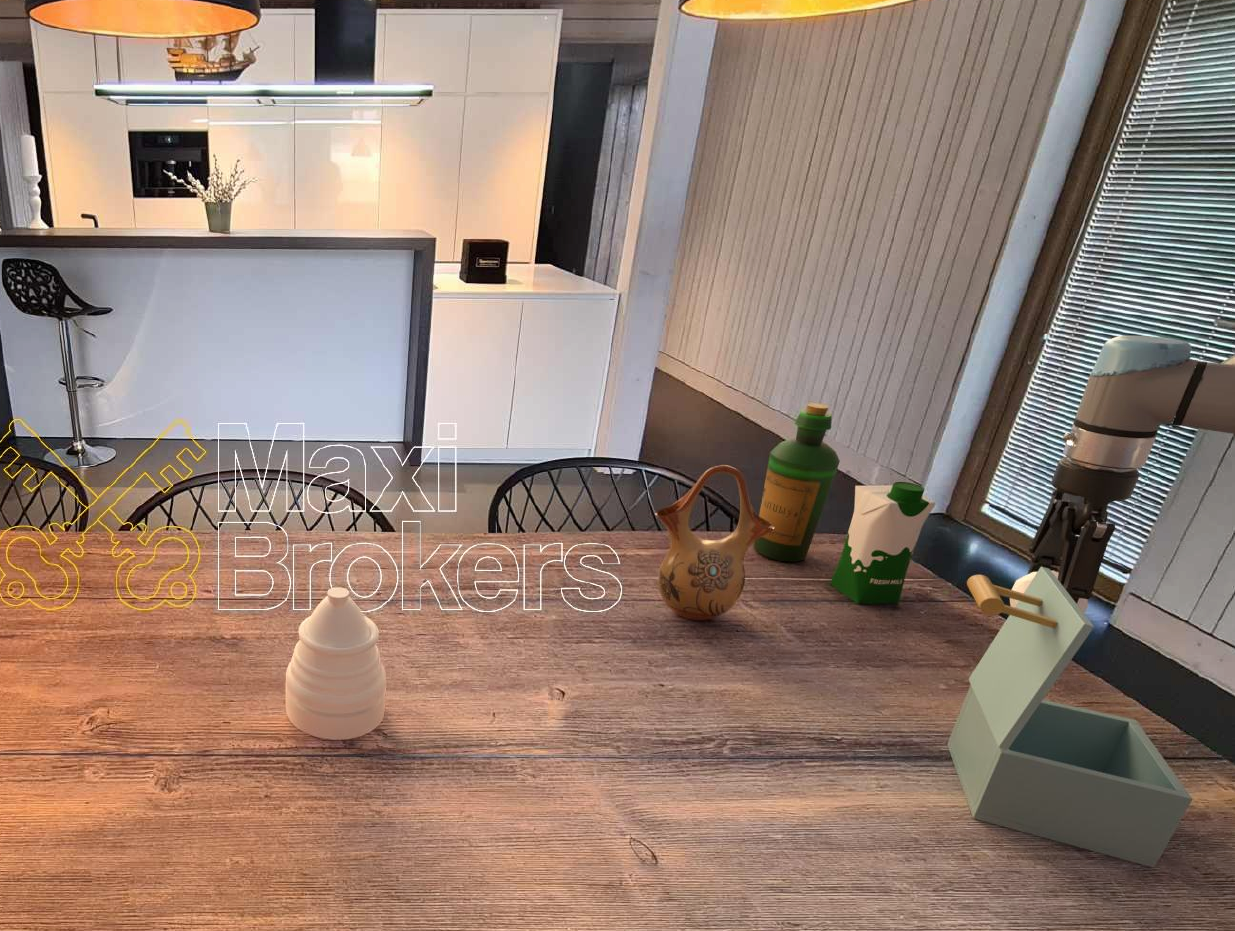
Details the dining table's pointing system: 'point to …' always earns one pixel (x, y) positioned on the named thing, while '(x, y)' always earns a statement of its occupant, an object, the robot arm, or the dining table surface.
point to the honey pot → (336, 672)
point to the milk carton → (881, 542)
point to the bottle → (797, 487)
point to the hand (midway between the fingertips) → (1037, 622)
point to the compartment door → (1024, 649)
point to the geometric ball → (1026, 580)
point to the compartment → (1071, 780)
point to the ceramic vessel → (706, 555)
